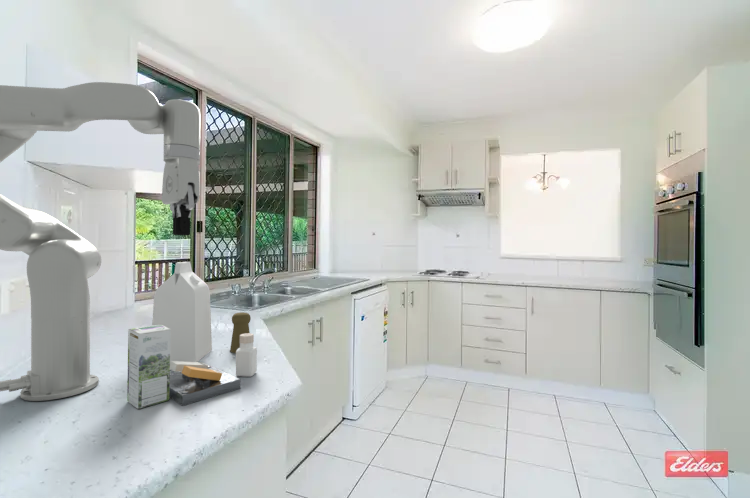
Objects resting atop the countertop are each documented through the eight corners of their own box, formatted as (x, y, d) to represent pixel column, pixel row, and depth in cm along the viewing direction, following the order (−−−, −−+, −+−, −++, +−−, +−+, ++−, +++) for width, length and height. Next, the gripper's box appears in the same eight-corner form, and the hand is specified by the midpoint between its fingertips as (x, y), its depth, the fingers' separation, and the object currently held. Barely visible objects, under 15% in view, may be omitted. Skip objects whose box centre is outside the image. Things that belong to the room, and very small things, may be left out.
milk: (171, 350, 109) (171, 261, 109) (212, 350, 110) (212, 261, 110) (149, 363, 97) (150, 263, 97) (195, 363, 98) (196, 263, 98)
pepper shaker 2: (241, 371, 92) (241, 332, 91) (257, 371, 91) (257, 332, 91) (234, 377, 88) (235, 336, 87) (251, 377, 87) (252, 336, 87)
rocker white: (174, 371, 79) (176, 363, 79) (168, 368, 81) (170, 360, 81) (206, 372, 84) (208, 365, 84) (200, 369, 86) (202, 362, 86)
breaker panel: (182, 405, 72) (182, 390, 72) (154, 387, 81) (155, 374, 81) (240, 388, 81) (240, 374, 81) (209, 373, 90) (209, 361, 90)
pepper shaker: (247, 353, 107) (247, 314, 107) (226, 353, 107) (226, 314, 107) (254, 347, 113) (254, 311, 113) (234, 347, 113) (235, 310, 113)
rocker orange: (188, 376, 75) (191, 368, 75) (181, 373, 77) (184, 365, 77) (219, 380, 79) (222, 373, 80) (212, 377, 82) (215, 369, 82)
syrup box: (158, 393, 78) (158, 323, 78) (170, 401, 74) (171, 327, 74) (126, 402, 73) (127, 327, 73) (138, 410, 69) (138, 332, 69)
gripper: (152, 158, 89) (151, 235, 89) (178, 147, 80) (177, 234, 80) (185, 163, 95) (184, 236, 95) (213, 154, 85) (212, 235, 85)
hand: (181, 234), depth 87 cm, fingers closed
